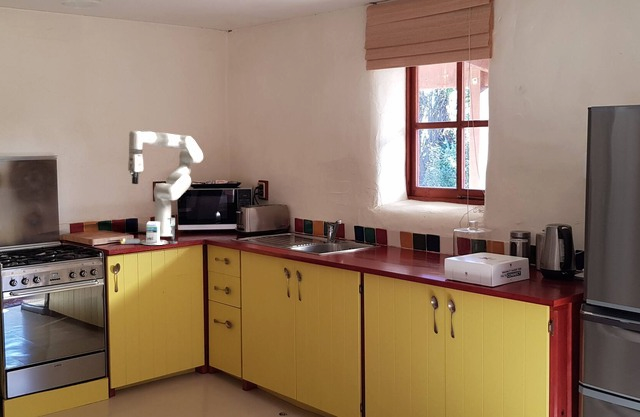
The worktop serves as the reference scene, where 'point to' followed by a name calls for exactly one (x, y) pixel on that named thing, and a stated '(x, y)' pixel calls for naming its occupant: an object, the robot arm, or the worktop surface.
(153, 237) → the light bulb box
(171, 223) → the gauge stand
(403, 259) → the worktop surface
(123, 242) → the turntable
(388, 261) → the worktop surface
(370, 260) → the worktop surface
